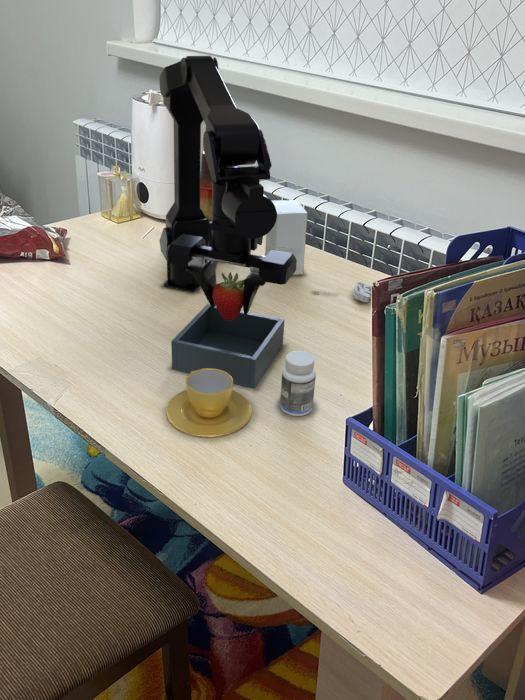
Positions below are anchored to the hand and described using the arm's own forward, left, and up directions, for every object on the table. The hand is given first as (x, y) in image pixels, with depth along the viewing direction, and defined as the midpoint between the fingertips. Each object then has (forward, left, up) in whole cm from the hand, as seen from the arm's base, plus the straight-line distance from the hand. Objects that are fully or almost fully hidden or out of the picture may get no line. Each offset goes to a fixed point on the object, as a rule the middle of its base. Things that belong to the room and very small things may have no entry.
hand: (230, 309), depth 106 cm
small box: (-3, +37, -9) cm, 38 cm away
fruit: (0, 0, -2) cm, 2 cm away
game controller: (+12, +30, -9) cm, 33 cm away
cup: (+3, -15, -9) cm, 18 cm away
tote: (0, 0, -9) cm, 9 cm away
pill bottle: (+14, -9, -9) cm, 19 cm away
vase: (-20, +41, -9) cm, 46 cm away
